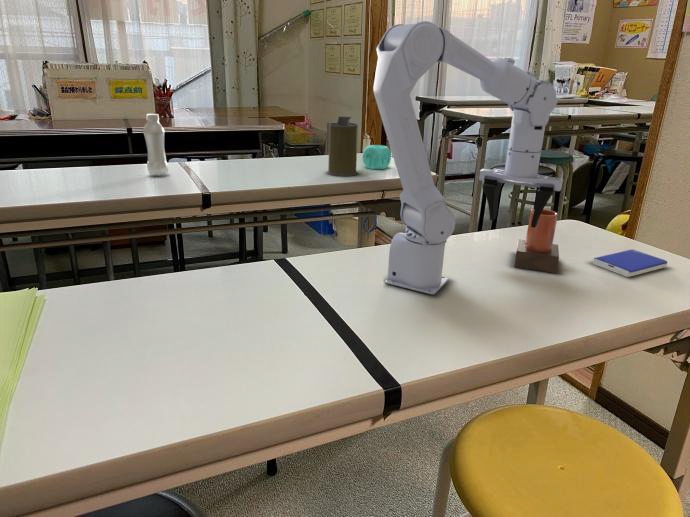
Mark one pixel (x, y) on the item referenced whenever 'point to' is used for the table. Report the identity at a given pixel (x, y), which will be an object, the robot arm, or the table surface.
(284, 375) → the table surface
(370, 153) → the decorative dice
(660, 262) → the hard drive
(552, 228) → the cup
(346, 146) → the canister
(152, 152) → the plastic bottle
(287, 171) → the table surface
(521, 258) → the block
